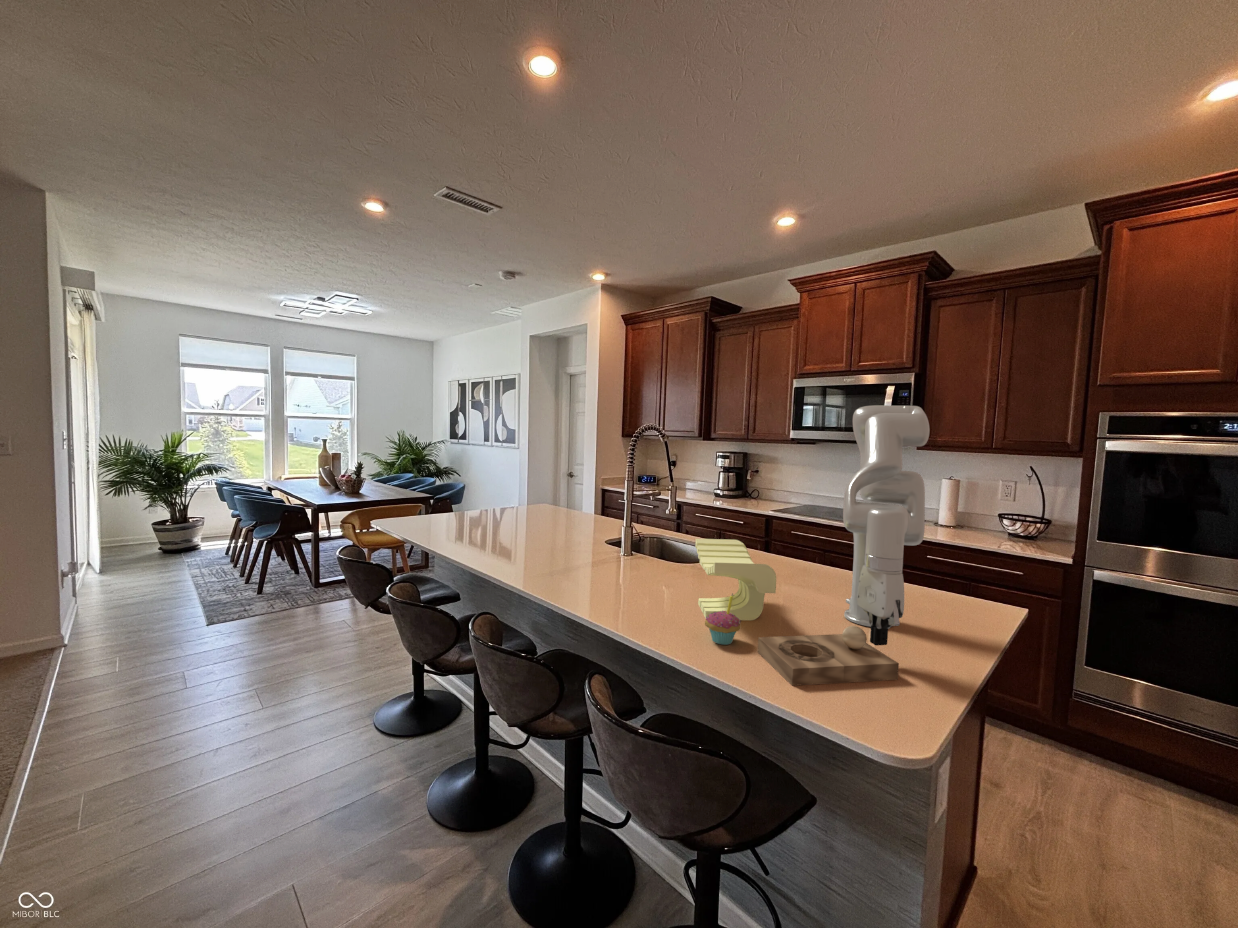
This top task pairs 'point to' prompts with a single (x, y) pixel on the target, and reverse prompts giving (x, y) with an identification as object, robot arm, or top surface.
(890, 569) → the robot arm
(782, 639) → the board
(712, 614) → the cupcake
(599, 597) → the top surface
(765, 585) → the slatted curved stool
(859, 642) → the ball
